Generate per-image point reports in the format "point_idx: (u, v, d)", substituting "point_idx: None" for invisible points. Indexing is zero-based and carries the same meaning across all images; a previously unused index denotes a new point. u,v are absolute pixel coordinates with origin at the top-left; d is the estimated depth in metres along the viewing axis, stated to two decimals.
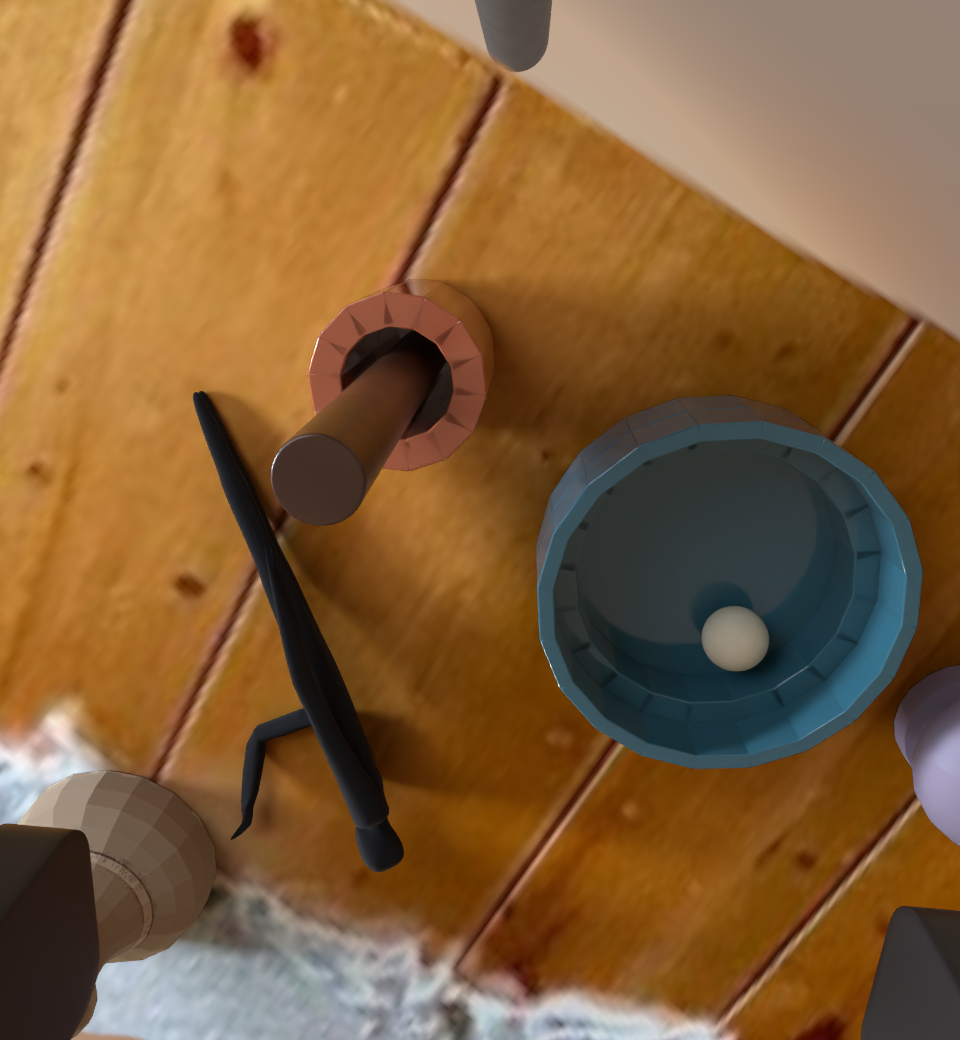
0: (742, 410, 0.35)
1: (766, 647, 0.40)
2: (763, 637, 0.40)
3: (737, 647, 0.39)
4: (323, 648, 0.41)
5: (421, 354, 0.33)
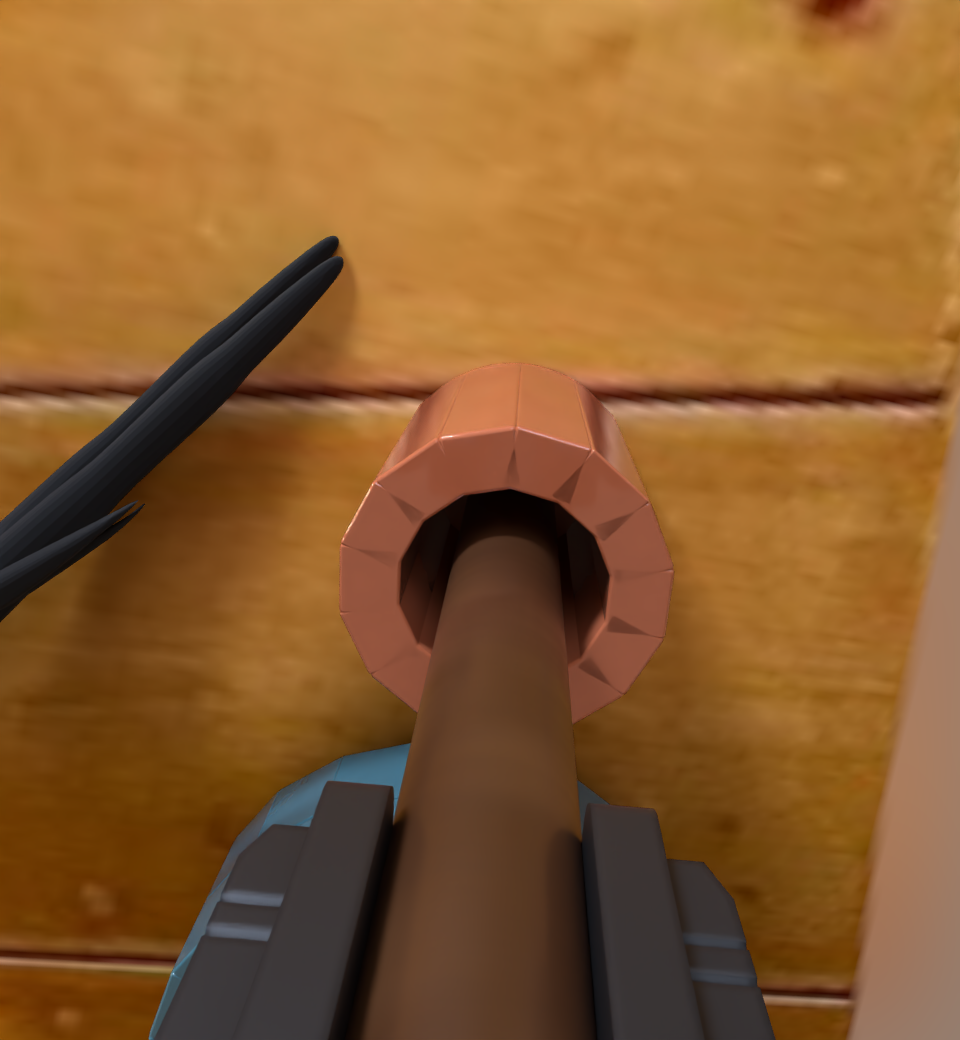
0: None
1: None
2: None
3: None
4: (12, 609, 0.24)
5: None
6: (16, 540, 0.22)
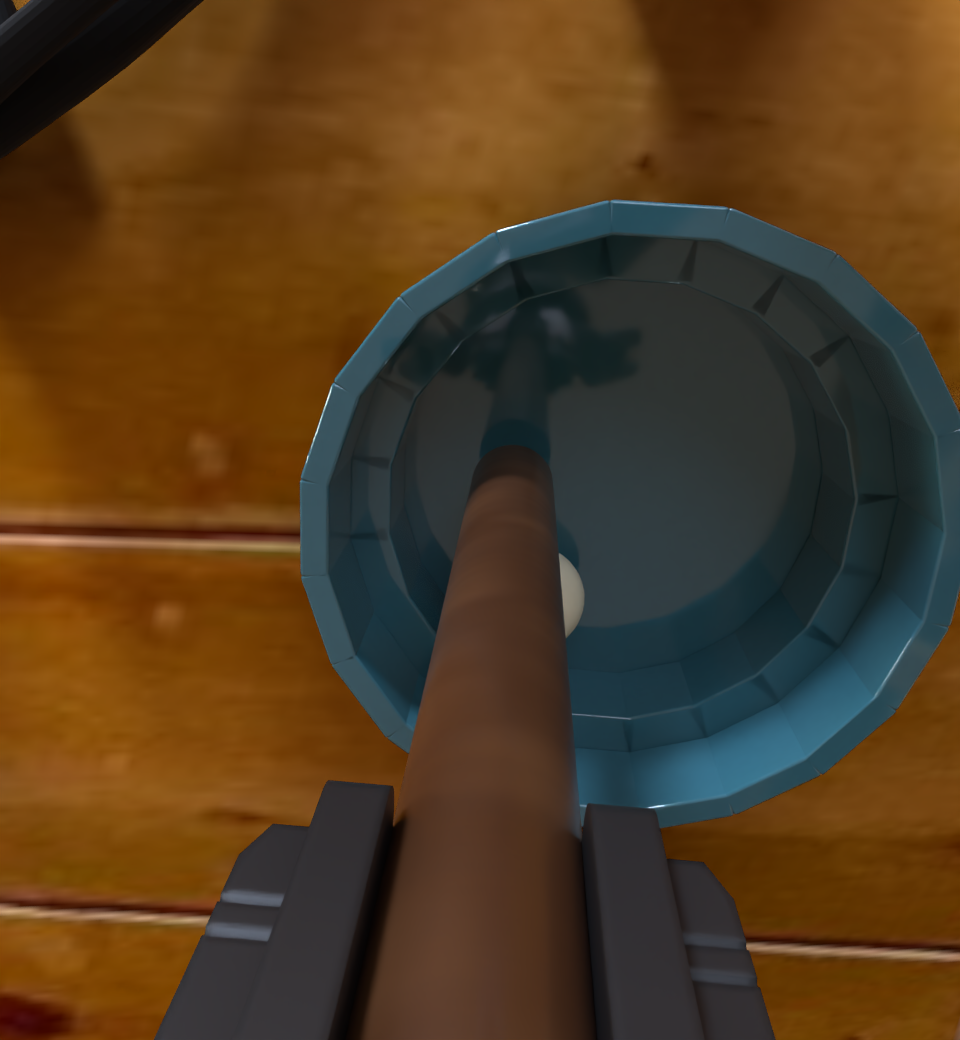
0: None
1: None
2: (566, 633, 0.24)
3: None
4: (173, 18, 0.20)
5: None
6: None
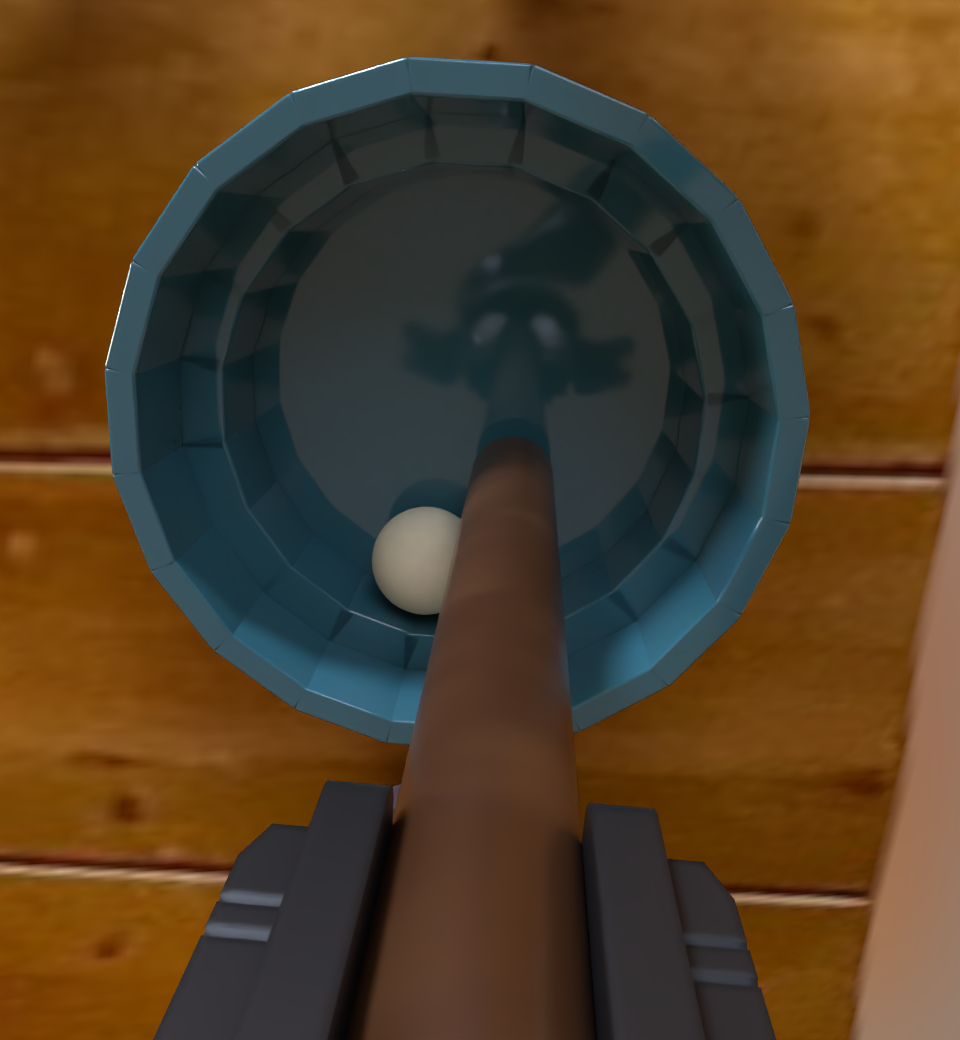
0: None
1: None
2: None
3: (425, 602, 0.23)
4: None
5: None
6: None
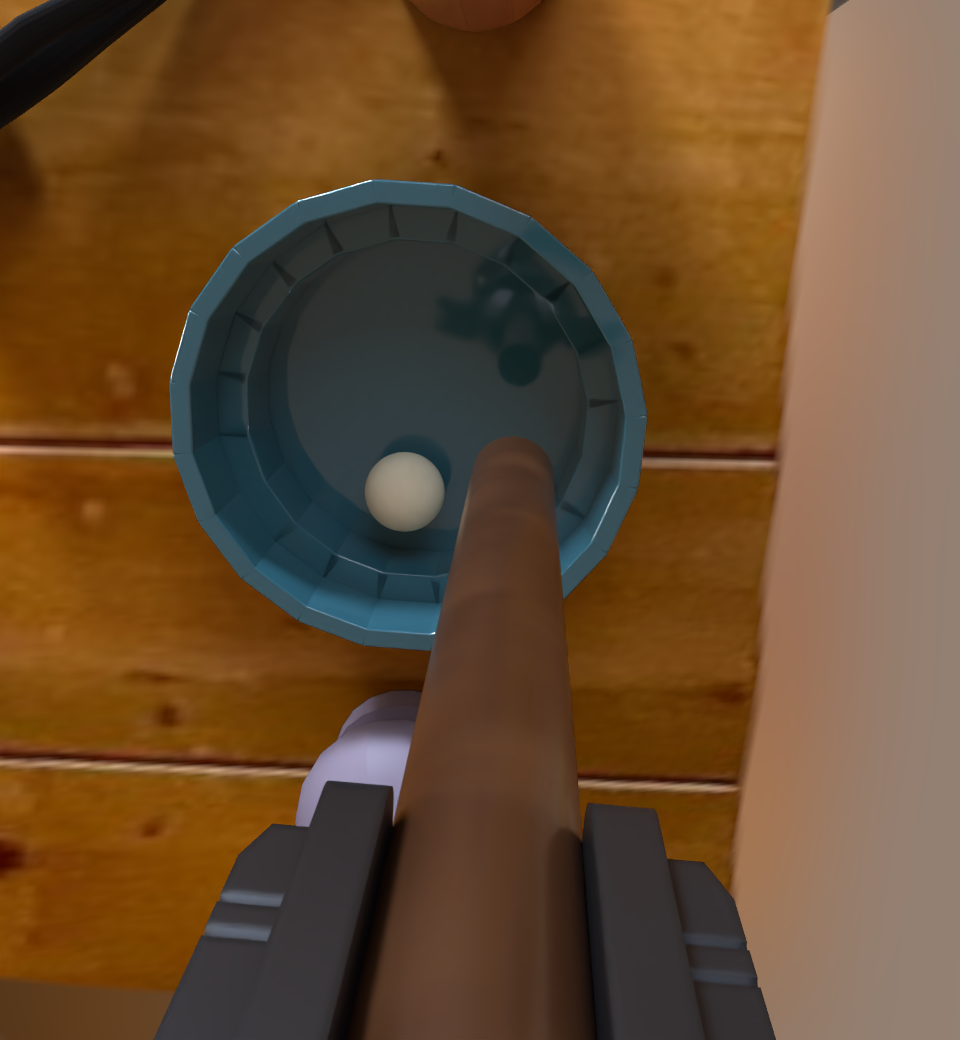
0: None
1: (404, 528, 0.33)
2: (419, 524, 0.33)
3: (414, 492, 0.32)
4: (85, 58, 0.28)
5: None
6: None
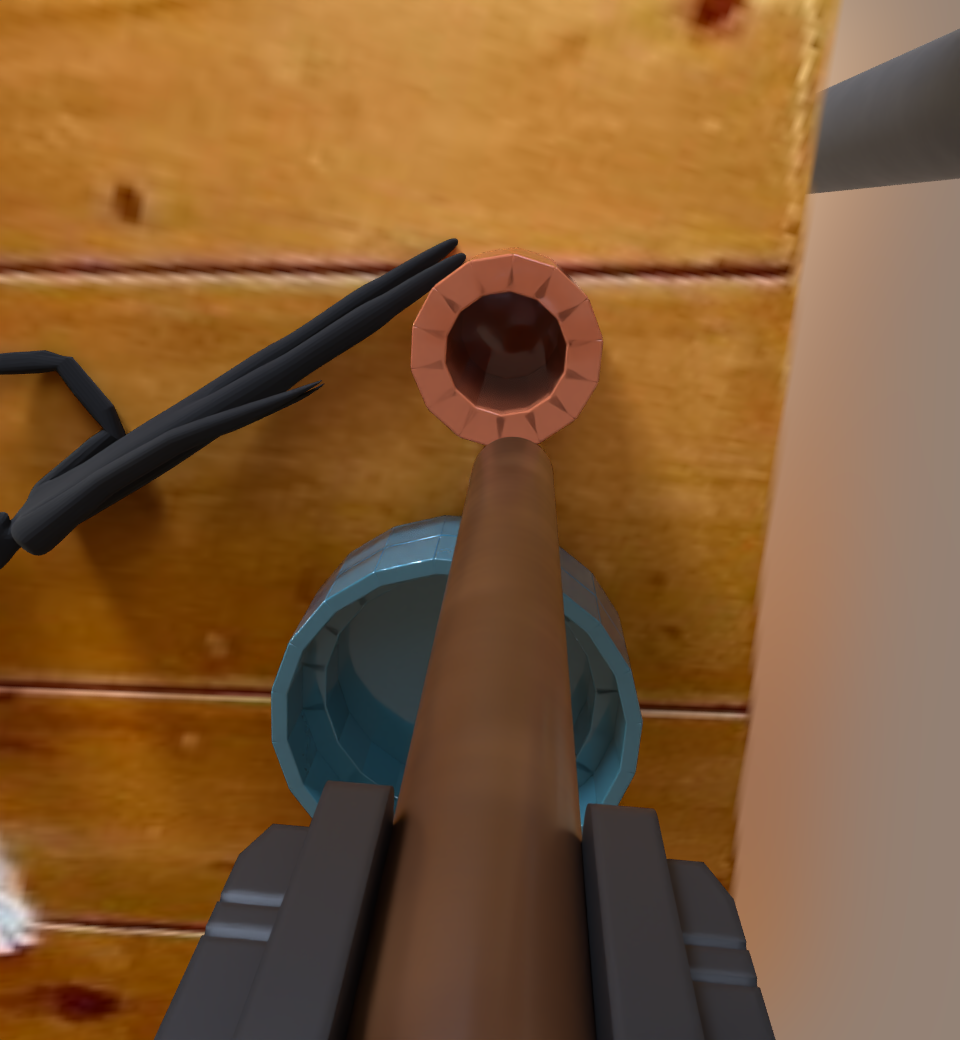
0: (622, 641, 0.37)
1: None
2: None
3: None
4: None
5: None
6: (228, 395, 0.35)
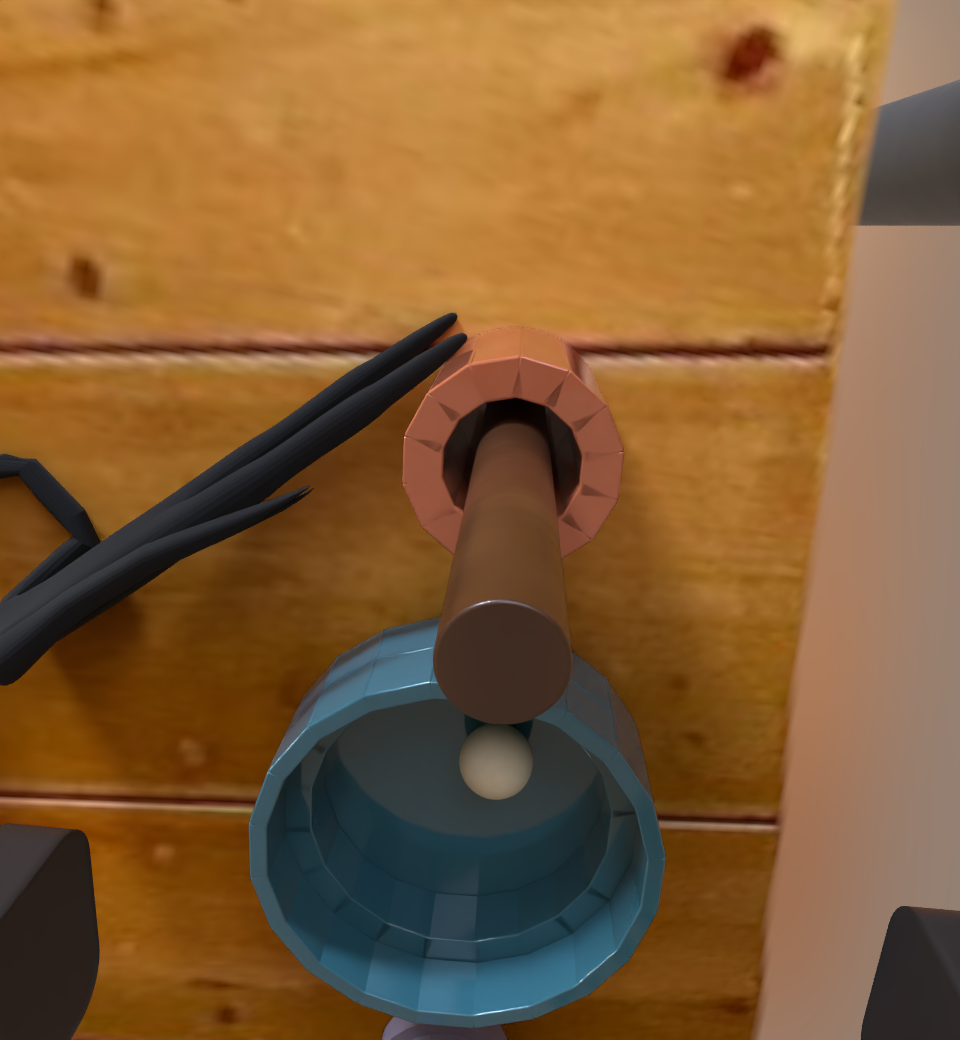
0: (642, 762, 0.33)
1: None
2: None
3: None
4: None
5: None
6: (207, 502, 0.32)
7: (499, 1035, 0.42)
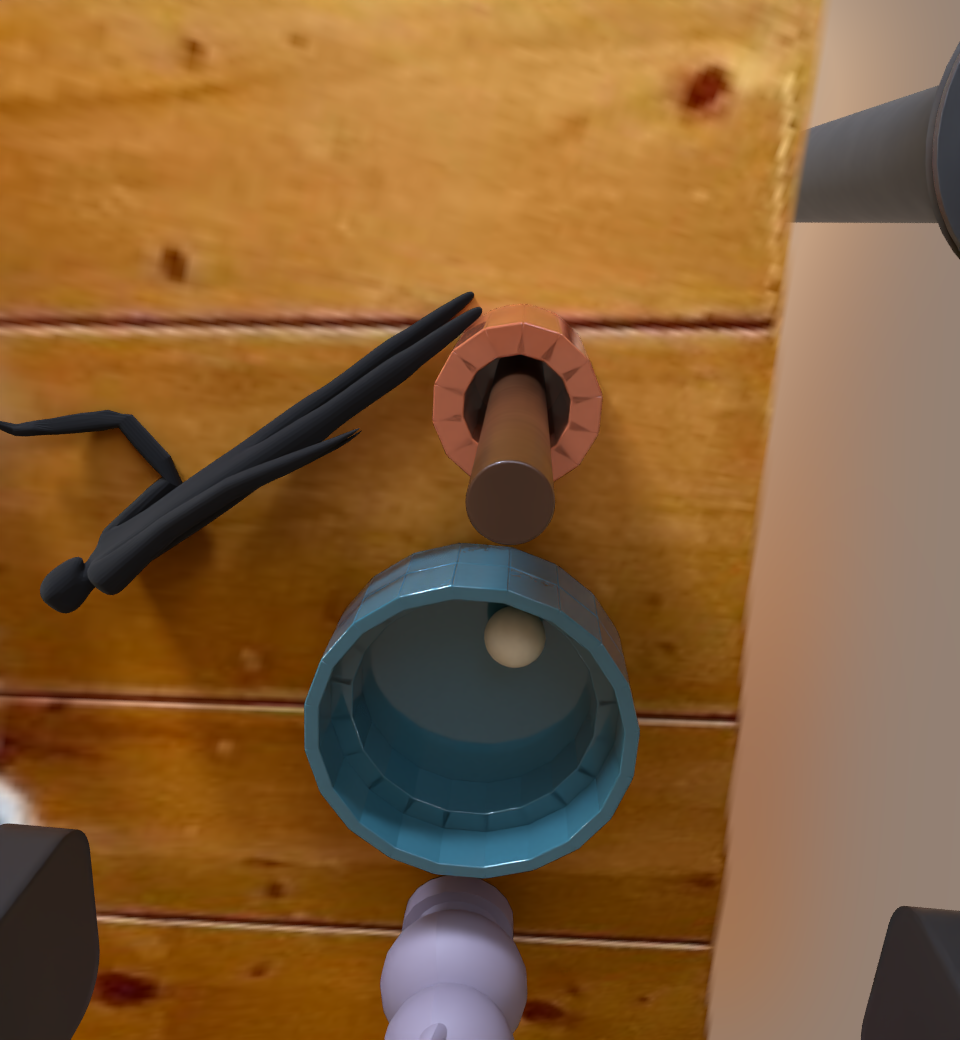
0: (621, 658, 0.41)
1: None
2: None
3: (510, 666, 0.43)
4: None
5: None
6: (275, 444, 0.39)
7: (505, 905, 0.50)
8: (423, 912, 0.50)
